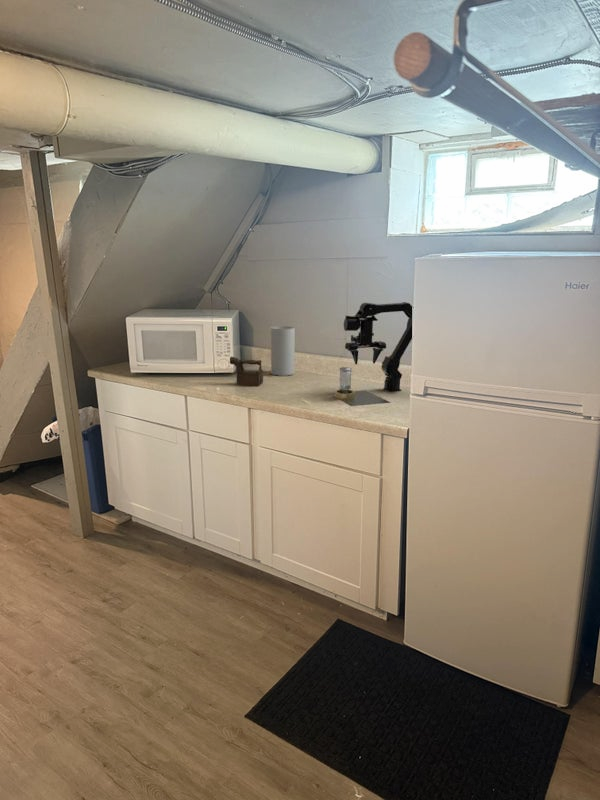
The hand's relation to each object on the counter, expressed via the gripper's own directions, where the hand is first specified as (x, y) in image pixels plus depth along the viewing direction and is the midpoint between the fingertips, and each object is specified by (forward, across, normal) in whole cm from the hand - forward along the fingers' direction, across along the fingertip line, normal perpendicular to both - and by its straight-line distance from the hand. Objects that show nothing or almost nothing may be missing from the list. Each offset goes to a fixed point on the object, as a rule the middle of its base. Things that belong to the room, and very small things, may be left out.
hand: (365, 364), depth 258 cm
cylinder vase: (+13, +24, -50) cm, 57 cm away
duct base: (+13, +10, +14) cm, 21 cm away
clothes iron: (+13, +48, -32) cm, 59 cm away
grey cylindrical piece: (+12, +15, +11) cm, 22 cm away
